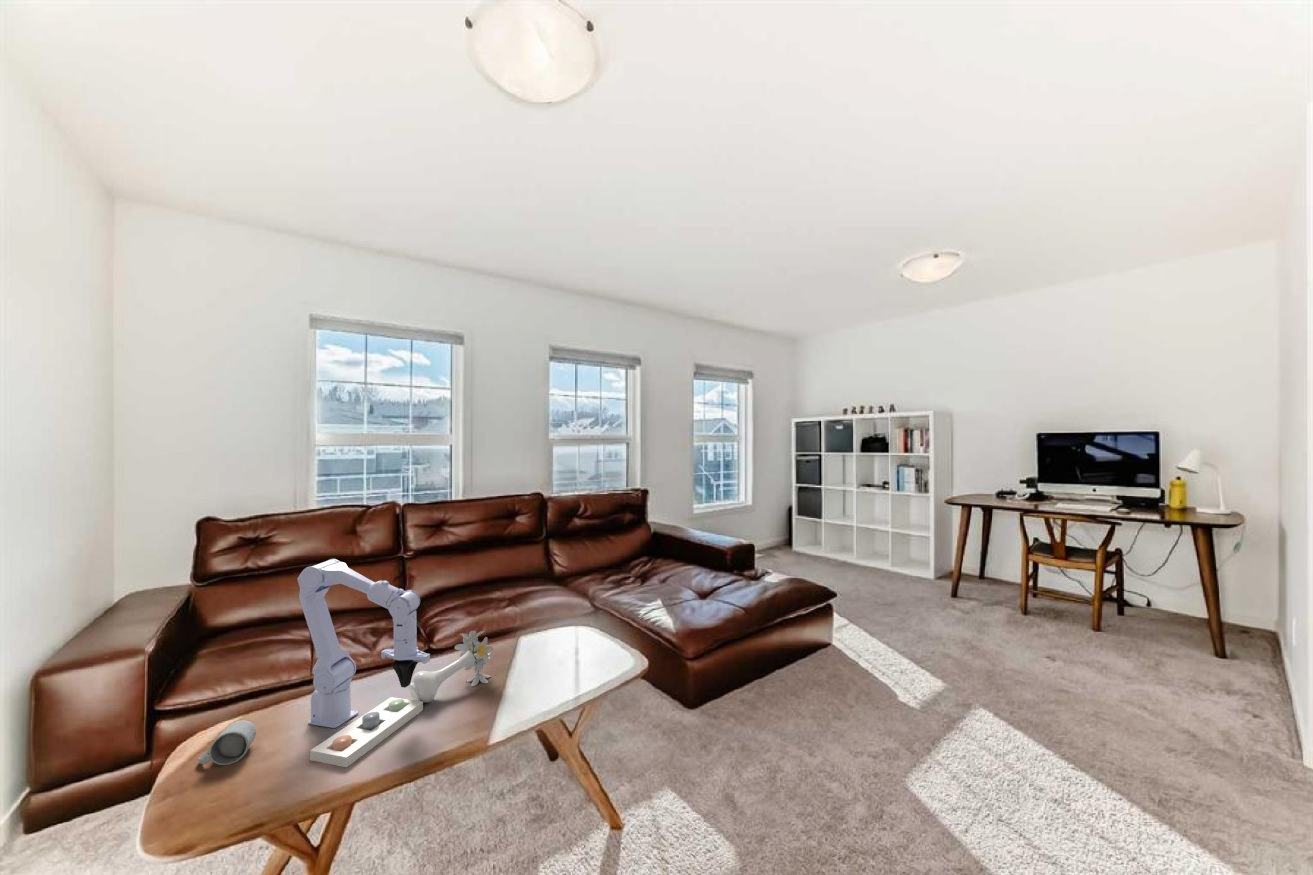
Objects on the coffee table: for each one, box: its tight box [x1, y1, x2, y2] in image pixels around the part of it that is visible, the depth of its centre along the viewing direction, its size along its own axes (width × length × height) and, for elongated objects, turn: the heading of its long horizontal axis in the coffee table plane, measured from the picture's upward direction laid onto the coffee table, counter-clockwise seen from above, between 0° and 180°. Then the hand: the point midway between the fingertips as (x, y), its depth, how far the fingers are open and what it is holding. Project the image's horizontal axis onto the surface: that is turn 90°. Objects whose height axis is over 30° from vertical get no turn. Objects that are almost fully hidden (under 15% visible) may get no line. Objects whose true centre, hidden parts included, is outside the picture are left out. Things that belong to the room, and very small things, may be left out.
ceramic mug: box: [198, 719, 257, 766], centre depth 126 cm, size 11×8×8 cm
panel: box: [309, 696, 424, 768], centre depth 135 cm, size 11×26×2 cm, turn 165°
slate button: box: [361, 712, 380, 731], centre depth 135 cm, size 4×4×3 cm
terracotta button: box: [333, 735, 352, 752], centre depth 126 cm, size 4×4×3 cm
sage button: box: [388, 698, 404, 712], centre depth 144 cm, size 4×4×3 cm
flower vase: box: [407, 630, 494, 704], centre depth 158 cm, size 13×18×25 cm
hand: (405, 685), depth 141 cm, fingers closed
